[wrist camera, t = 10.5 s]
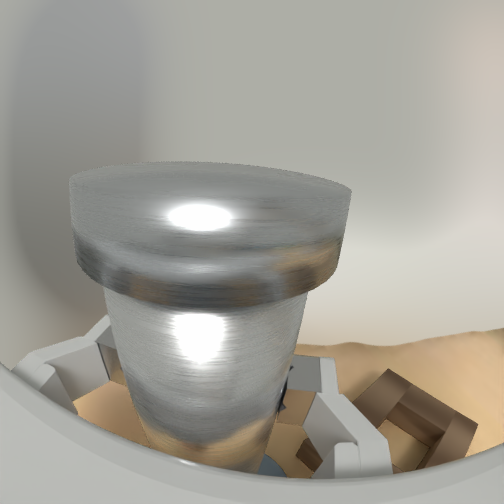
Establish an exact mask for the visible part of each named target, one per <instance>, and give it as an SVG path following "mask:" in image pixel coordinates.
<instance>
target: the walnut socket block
mask: <svg viewBox="0 0 504 504" xmlns="http://www.w3.org/2000/svg"><path fill="white" fill-rule="evenodd" d="M352 404H353V405H354V406H355V407H356V408H357V409H358V410H359V411H360V412H361V413H362V414H363V415H364V416H365V417H366V418H367V420H368V421H369V422H370V423H371V424H372V425H373V426H374V427H375V428H376V429H377V428H378V427H379V426H380V425H381V424H382V422H383V421H384V420H385V419H388V420H389V421H391V422H392V423H394V424H395V425H397V426H398V427H400V428H401V429H402V430H404V431H405V432H407V433H409V434H410V435H412V436H413V437H415V438H416V439H418V440H419V441H421V442H422V443H424V444H425V445H427V446H429V447H430V449H429V451H428V452H427V454H426V455H425V457H424V458H423V460H422V461H421V463H420V464H419V466H418V467H417V469H416V470H419V469H424V468H428V467H433V466H437V465H441V464H444V463H448V462H452V461H455V460H458V459H462V458H464V457H465V455H466V453H467V451H468V448H469V446H470V444H471V441H472V439H473V436H474V434H475V431H476V429H477V426H478V424H477V423H476V422H474V421H472V420H471V419H469V418H467V417H465V416H464V415H462V414H461V413H459V412H457V411H456V410H454V409H452V408H451V407H449V406H447V405H446V404H444V403H442V402H441V401H439V400H438V399H436V398H434V397H433V396H431V395H429V394H428V393H426V392H425V391H423V390H421V389H420V388H418V387H417V386H415V385H413V384H412V383H410V382H409V381H407V380H406V379H404V378H402V377H401V376H399V375H398V374H396V373H394V372H393V371H391V370H390V369H387V370H386V371H385V372H384V373H383V374H382V375H381V376H380V377H379V378H378V379H377V380H376V381H375V382H374V383H373V384H372V385H371V386H370V387H369V388H368V389H367V390H366V391H365V392H363V393H362V394H361V395H360V396H359V397H358V398H357V399H356V400H355V401H353V402H352ZM296 456H297V457H298V458H299V459H300V460H302V461H303V462H304V463H305V464H306V465H307V466H308V467H309V468H311V469H312V470H313V471H314V472H315V471H316V470H317V469H318V467H319V466H320V465H321V464H322V462H323V460H322V458H321V457H320V455H319V453H318V452H317V450H316V449H315V447H314V445H313V444H312V442H311V441H310V439H309V437H308V438H307V439H305V440H304V441H303V443H302V445H301V447H300V448H299V450H298V452H297V454H296ZM391 464H392V463H391ZM392 470H393V474H397V473H403V471H402V470H400V469H399V468H397V467H396V466H394V465H393V464H392Z"/></svg>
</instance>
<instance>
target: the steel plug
mask: <svg viewBox="0 0 504 504" xmlns="http://www.w3.org/2000/svg"><path fill="white" fill-rule="evenodd" d="M69 190H70V208H71V221H72V231H73V240H74V248H75V254H76V259H77V262H78V264H79V266H80V267H81V269H82V270H83V271H84V272H85V273H86V274H87V275H88V276H89V277H90V278H91V279H93V280H94V281H96V282H97V283H99V284H100V285H102V286H103V288H104V294H105V299H106V305H107V310H108V315H109V319H110V324H111V328H112V333H113V337H114V341H115V345H116V349H117V353H118V356H119V360H120V363H121V367H122V370H123V374H124V377H125V380H126V383H127V386H128V389H129V392H130V395H131V398H132V401H133V404H134V407H135V409H136V412H137V415H138V417H139V420H140V423H141V425H142V428H143V430H144V432H145V435H146V437H147V440H148V442H149V444H150V446H151V449H154V450H157V451H160V452H163V453H166V454H169V455H172V456H175V457H179V458H182V459H186V460H189V461H193V462H197V463H201V464H205V465H209V466H213V467H218V468H223V469H228V470H233V471H239V472H245V473H251V474H257V473H258V471H259V468H260V465H261V462H262V459H263V456H264V453H265V450H266V447H267V444H268V441H269V438H270V435H271V432H272V428H273V425H274V422H275V419H276V415H277V412H278V409H279V405H280V402H281V398H282V395H283V391H284V388H285V384H286V380H287V377H288V373H289V370H290V366H291V362H292V358H293V354H294V350H295V346H296V342H297V337H298V334H299V330H300V326H301V321H302V317H303V312H304V308H305V303H306V299H307V294H308V291H310V290H313V289H315V288H316V287H318V286H320V285H321V284H322V283H324V282H326V281H327V280H328V279H329V278H330V277H331V276H332V275H333V273H334V272H335V270H336V268H337V264H338V260H339V256H340V251H341V247H342V241H343V236H344V232H345V226H346V221H347V216H348V210H349V205H350V199H351V190H350V189H349V188H348V187H346V186H344V185H342V184H339V183H337V182H334V181H331V180H327V179H324V178H320V177H316V176H312V175H307V174H303V173H297V172H292V171H287V170H281V169H274V168H267V167H259V166H250V165H241V164H229V163H212V162H147V163H132V164H122V165H114V166H107V167H101V168H95V169H91V170H86V171H83V172H80V173H77V174H74V175H73V176H71V177H70V178H69Z"/></svg>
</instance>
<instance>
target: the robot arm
mask: <svg viewBox="0 0 504 504" xmlns="http://www.w3.org/2000/svg"><path fill="white" fill-rule="evenodd" d="M110 380H111V381H114V382H116V383H119V384H122V385H125V386H127V383H126V380H125V377H124V374H123V370H122V367H121V363H120V360H119V356H118V353H117V349H116V345H115V341H114V337H113V333H112V328H111V324H110V319H109V315H105V316H104V317H103V318H102V319H101V320H100V321H99V322H98V323H97V324H96V325H95V326H94V327H93V328H92V329H91V330H90V331H89V332H88V333H87V334H86V335H85V336H84V337H81V336H79V337H77V338H73V339H70V340H67V341H64V342H61V343H57V344H54V345H51V346H48V347H45V348H41V349H38V350H35V351H32V352H30V353H29V354H28V355H26V356H25V357H24V358H23V359H22V360H21V361H20V362H19V363H18V364H17V365H16V366H15V367H14V368H13V369H12V370H11V371H10V370H9V369H8V368H6V367H5V366H4V365H3V364H2V363H0V504H504V443H502V444H499V445H497V446H495V447H492V448H490V449H487V450H485V451H482V452H479V453H476V454H474V455H471V456H468V457H465V458H462V459H458V460H455V461H452V462H448V463H444V464H441V465H437V466H433V467H428V468H424V469H419V470H414V471H409V472H403V473H397V474H393V470H392V464H391V457H390V451H389V446H388V440H387V439H386V438H385V437H384V436H383V435H382V434H381V433H380V432H379V431H378V430H377V429H376V428H375V427H374V426H373V425H372V424H371V423H370V422H369V421H368V420H367V418H366V417H365V416H364V415H363V414H362V413H361V412H360V411H359V410H358V409H357V408H356V407H355V406H354V405H353V404H352V403H351V402H350V401H349V400H348V399H347V397H346V396H345V395H344V394H339V389H338V381H337V373H336V365H335V359H334V358H330V357H314V356H305V355H295V354H293V358H292V362H291V366H290V370H289V373H288V377H287V380H286V384H285V388H284V391H283V395H282V398H281V402H280V405H279V409H278V416H277V423H284V424H292V425H301V426H302V427H303V429H304V431H305V432H306V434H307V436H308V437H309V439H310V441H311V442H312V444H313V445H314V447H315V449H316V450H317V452H318V453H319V455H320V457H321V458H322V460H323V462H322V464H321V465H320V466H319V467H318V469H317V470H316V471H315V472H314V474H313V475H312V476H311V479H304V478H287V477H275V476H266V475H258V474H251V473H245V472H239V471H233V470H228V469H223V468H218V467H213V466H209V465H205V464H201V463H197V462H193V461H189V460H186V459H182V458H179V457H175V456H172V455H169V454H166V453H163V452H160V451H157V450H154V449H151V448H148V447H146V446H143V445H140V444H138V443H135V442H133V441H130V440H128V439H126V438H123V437H121V436H119V435H116V434H114V433H112V432H110V431H107V430H105V429H103V428H101V427H99V426H97V425H95V424H93V423H91V422H89V421H87V420H85V419H83V418H82V417H80V416H78V411H77V409H76V408H75V406H74V404H73V402H72V401H74V400H76V399H78V398H80V397H82V396H83V395H85V394H87V393H89V392H91V391H93V390H95V389H96V388H98V387H100V386H102V385H104V384H105V383H107V382H109V381H110Z"/></svg>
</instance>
